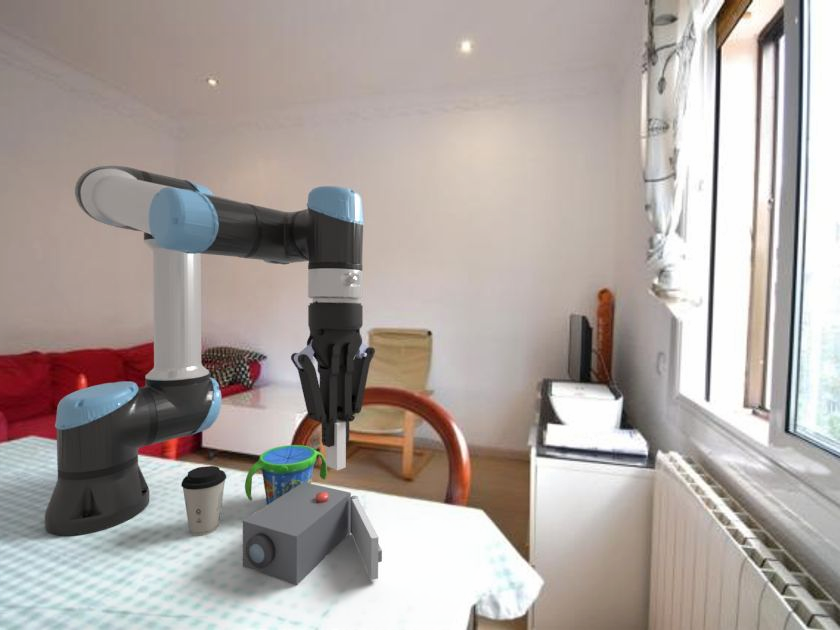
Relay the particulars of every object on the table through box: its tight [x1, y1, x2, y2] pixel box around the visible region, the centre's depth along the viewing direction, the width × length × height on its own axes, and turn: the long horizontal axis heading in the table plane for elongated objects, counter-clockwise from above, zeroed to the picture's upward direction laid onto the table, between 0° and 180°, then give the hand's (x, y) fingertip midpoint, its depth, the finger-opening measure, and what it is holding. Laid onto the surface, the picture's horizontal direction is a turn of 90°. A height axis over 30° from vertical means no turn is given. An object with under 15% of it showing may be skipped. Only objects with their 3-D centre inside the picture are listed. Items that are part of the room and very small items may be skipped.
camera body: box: [242, 482, 352, 586], centre depth 64 cm, size 10×15×8 cm, turn 158°
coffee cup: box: [180, 465, 227, 537], centre depth 70 cm, size 7×7×10 cm
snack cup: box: [244, 444, 328, 506], centre depth 78 cm, size 16×10×10 cm
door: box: [349, 495, 383, 581], centre depth 63 cm, size 2×13×6 cm, turn 22°
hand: (335, 466), depth 57 cm, fingers closed
